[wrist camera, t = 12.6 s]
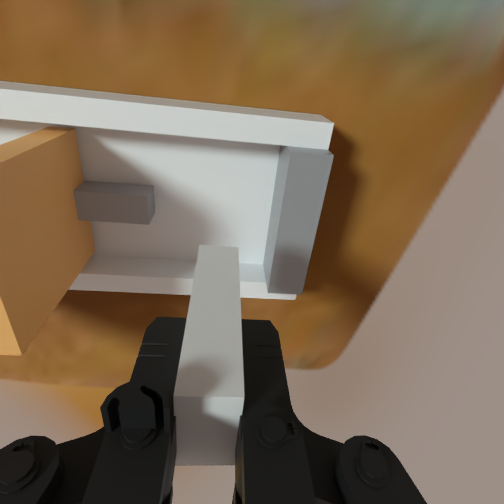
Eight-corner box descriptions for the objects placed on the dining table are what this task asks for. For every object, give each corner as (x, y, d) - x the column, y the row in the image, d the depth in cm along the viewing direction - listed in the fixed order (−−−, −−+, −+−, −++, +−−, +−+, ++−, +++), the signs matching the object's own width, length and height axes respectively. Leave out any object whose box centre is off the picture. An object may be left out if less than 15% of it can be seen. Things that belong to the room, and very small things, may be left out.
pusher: (51, 125, 16) (-90, 178, 9) (150, 135, 16) (92, 192, 9) (75, 247, 19) (-12, 354, 12) (157, 252, 20) (117, 357, 13)
